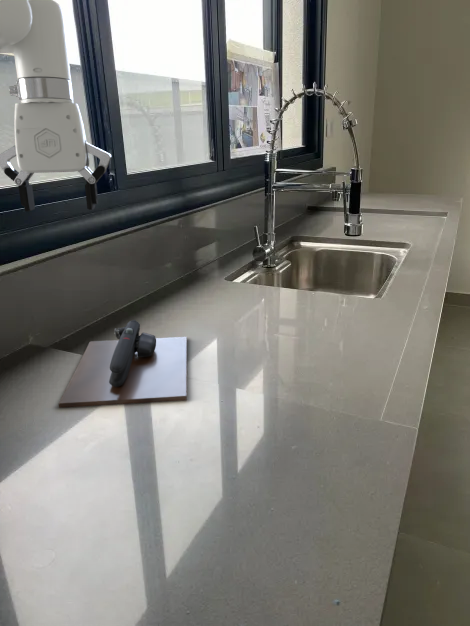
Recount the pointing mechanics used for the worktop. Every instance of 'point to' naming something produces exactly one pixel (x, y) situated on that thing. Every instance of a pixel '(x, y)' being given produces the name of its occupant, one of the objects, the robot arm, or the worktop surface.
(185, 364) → the cutting board
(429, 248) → the worktop surface
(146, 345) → the can opener
